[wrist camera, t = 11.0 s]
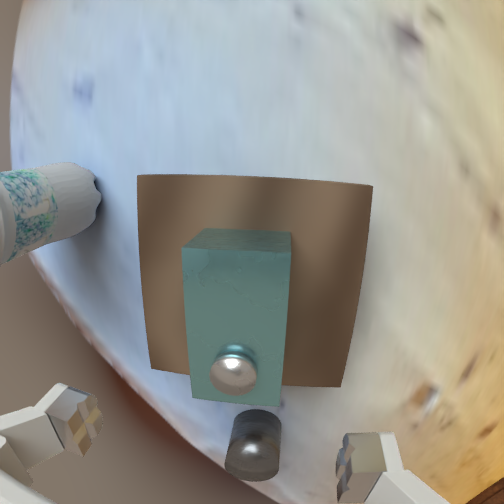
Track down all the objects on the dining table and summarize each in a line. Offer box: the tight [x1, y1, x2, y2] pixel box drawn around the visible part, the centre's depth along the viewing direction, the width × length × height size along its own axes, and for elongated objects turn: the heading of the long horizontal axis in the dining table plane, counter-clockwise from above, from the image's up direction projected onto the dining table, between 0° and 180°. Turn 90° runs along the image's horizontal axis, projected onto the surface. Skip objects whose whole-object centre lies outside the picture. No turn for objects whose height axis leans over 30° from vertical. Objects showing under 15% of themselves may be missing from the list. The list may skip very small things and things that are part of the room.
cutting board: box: [466, 478, 504, 504], centre depth 34 cm, size 32×32×3 cm
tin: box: [225, 409, 281, 481], centre depth 28 cm, size 5×5×6 cm
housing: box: [181, 228, 291, 407], centre depth 18 cm, size 5×9×5 cm, turn 179°
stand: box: [137, 174, 373, 387], centre depth 23 cm, size 14×14×6 cm
